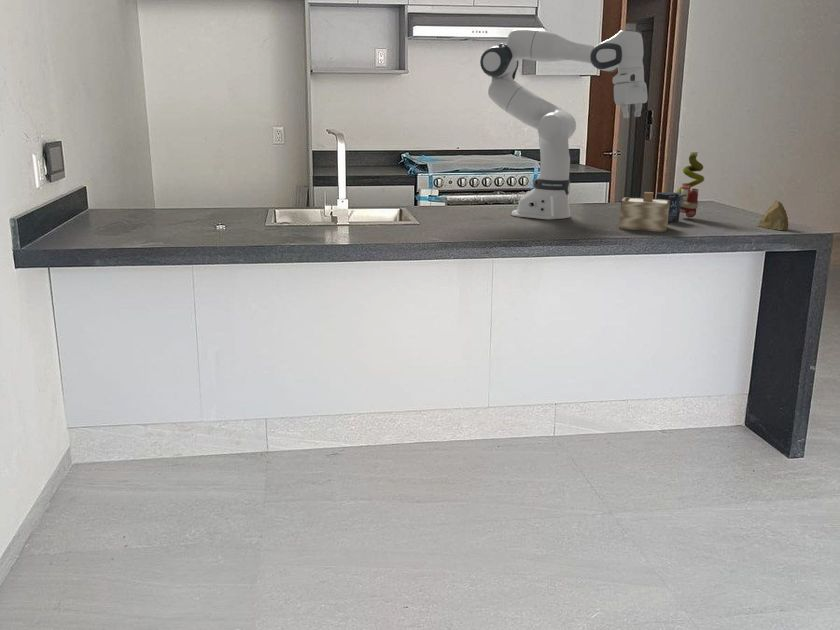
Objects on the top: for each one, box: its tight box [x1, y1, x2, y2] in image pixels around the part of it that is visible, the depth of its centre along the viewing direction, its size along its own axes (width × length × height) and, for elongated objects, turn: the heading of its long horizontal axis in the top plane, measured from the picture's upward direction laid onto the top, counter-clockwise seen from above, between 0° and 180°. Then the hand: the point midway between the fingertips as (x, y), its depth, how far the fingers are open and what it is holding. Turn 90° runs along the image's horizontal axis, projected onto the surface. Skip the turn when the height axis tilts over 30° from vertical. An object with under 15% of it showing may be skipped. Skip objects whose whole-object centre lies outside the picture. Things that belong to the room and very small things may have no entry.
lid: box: [629, 191, 668, 203], centre depth 280 cm, size 13×8×5 cm, turn 71°
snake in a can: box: [675, 151, 705, 218], centre depth 301 cm, size 12×10×25 cm
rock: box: [757, 199, 789, 231], centre depth 285 cm, size 11×9×10 cm
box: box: [655, 191, 682, 223], centre depth 297 cm, size 8×6×11 cm
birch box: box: [618, 197, 670, 233], centre depth 282 cm, size 16×10×10 cm, turn 71°
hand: (631, 117), depth 285 cm, fingers open, 8 cm apart
